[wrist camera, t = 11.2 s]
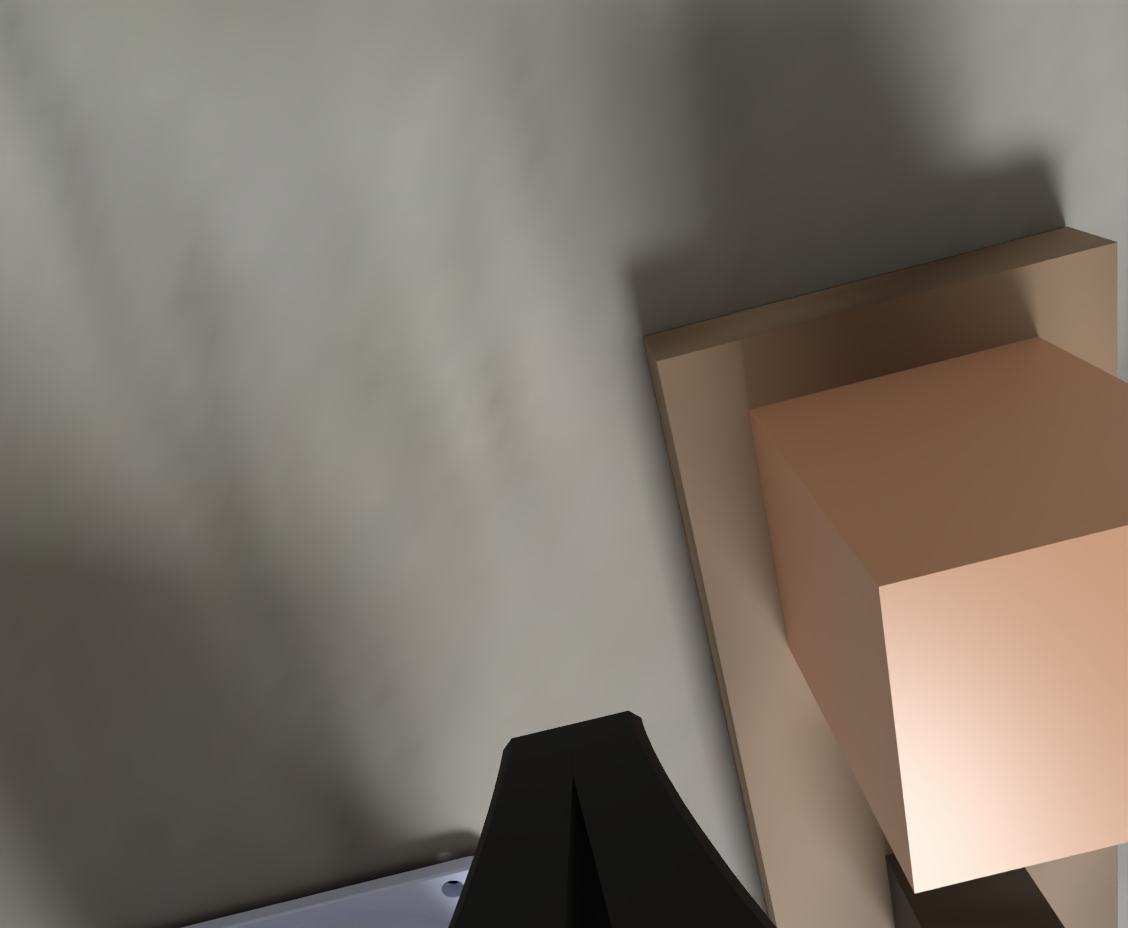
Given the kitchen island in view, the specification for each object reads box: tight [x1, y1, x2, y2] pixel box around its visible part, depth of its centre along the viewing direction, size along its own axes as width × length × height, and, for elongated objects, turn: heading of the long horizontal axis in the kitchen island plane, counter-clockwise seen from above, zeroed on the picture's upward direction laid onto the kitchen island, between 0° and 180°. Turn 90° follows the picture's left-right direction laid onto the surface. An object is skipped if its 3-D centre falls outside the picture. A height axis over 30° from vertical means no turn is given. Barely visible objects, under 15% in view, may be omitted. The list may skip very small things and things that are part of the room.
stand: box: [643, 227, 1118, 928], centre depth 19 cm, size 8×18×6 cm, turn 14°
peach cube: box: [749, 337, 1128, 893], centre depth 15 cm, size 5×5×6 cm
